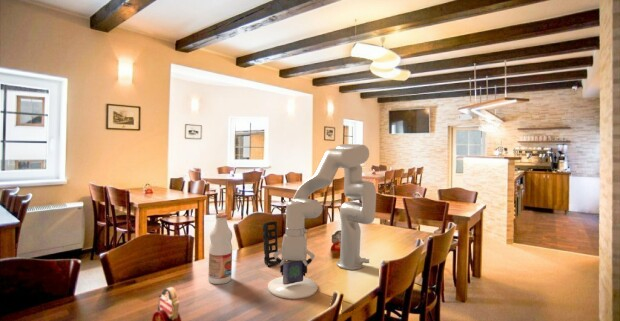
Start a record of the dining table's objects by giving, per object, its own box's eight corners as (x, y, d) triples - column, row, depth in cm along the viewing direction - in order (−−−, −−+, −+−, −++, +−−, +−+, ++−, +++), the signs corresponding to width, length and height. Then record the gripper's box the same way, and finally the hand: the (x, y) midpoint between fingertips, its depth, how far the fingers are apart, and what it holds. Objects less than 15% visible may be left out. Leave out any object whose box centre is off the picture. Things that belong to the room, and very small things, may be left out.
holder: (275, 267, 154) (273, 225, 154) (260, 267, 156) (258, 225, 156) (282, 260, 165) (280, 220, 165) (268, 260, 167) (265, 221, 167)
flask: (284, 285, 129) (285, 258, 129) (281, 282, 132) (281, 256, 132) (304, 281, 134) (305, 255, 134) (301, 278, 137) (301, 253, 136)
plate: (316, 279, 143) (316, 276, 143) (318, 300, 123) (318, 296, 123) (270, 277, 143) (270, 275, 143) (265, 298, 123) (265, 295, 123)
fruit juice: (209, 276, 142) (210, 212, 141) (231, 275, 144) (233, 212, 143) (207, 285, 133) (209, 216, 132) (231, 283, 135) (233, 216, 134)
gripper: (316, 230, 136) (314, 271, 137) (274, 228, 136) (272, 270, 136) (316, 234, 129) (315, 278, 129) (272, 233, 128) (271, 277, 129)
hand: (293, 274), depth 133 cm, fingers closed on flask, 8 cm apart
